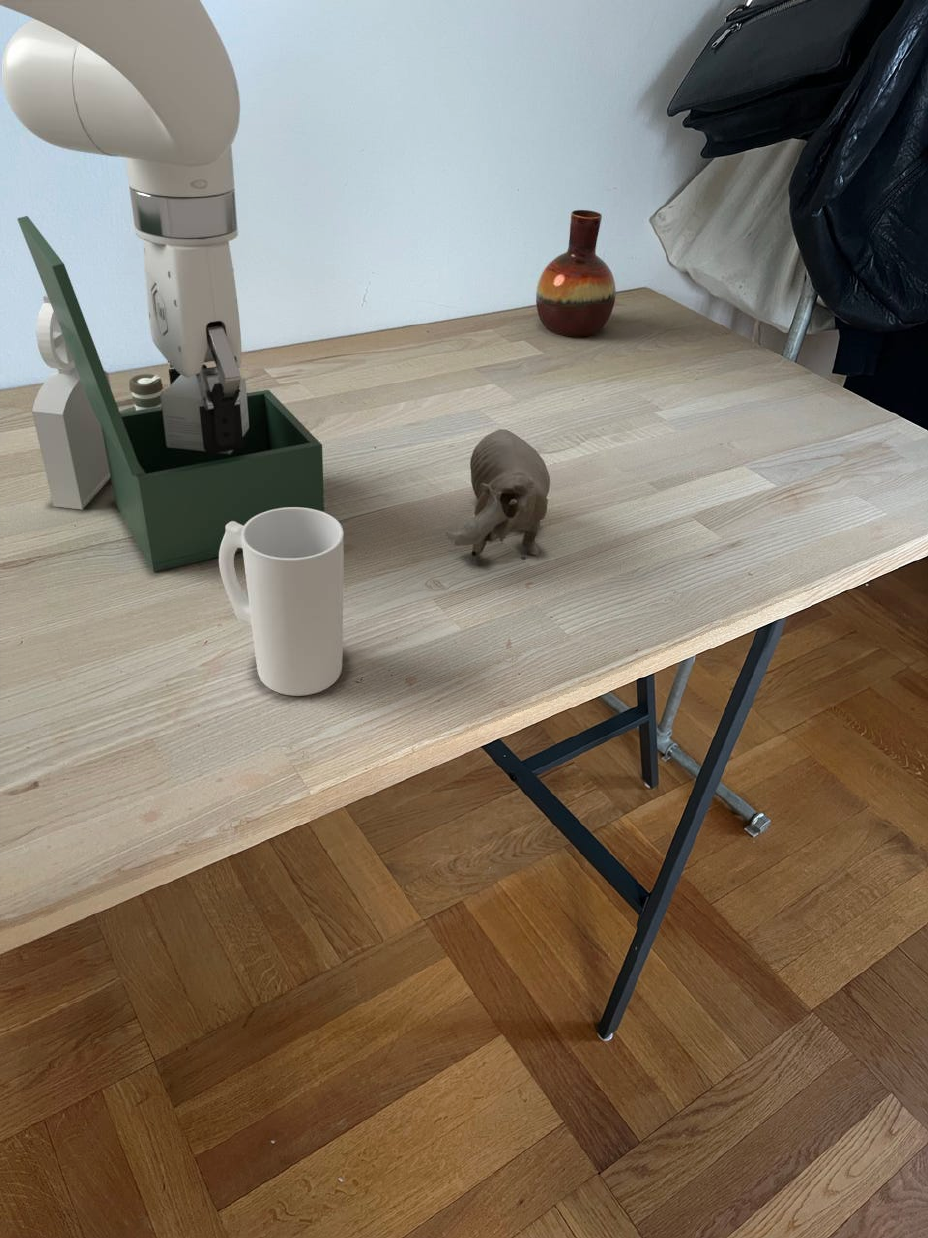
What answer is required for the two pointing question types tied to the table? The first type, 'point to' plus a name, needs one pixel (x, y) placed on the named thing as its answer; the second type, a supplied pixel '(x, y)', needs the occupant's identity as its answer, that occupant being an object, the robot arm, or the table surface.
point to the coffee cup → (145, 392)
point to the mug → (290, 595)
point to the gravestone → (67, 422)
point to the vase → (577, 283)
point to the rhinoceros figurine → (505, 493)
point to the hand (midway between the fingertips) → (207, 428)
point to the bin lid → (79, 341)
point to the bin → (212, 481)
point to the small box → (191, 412)
